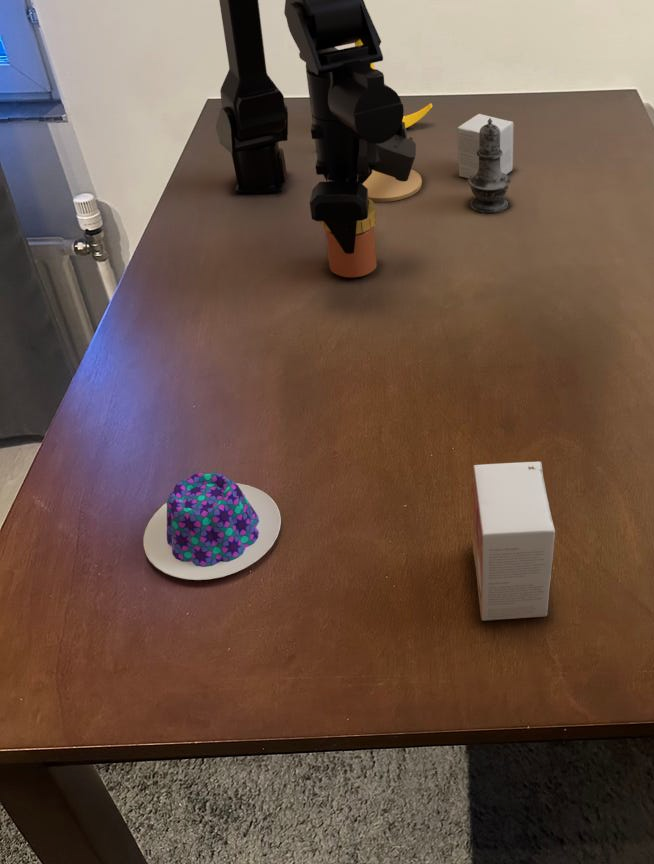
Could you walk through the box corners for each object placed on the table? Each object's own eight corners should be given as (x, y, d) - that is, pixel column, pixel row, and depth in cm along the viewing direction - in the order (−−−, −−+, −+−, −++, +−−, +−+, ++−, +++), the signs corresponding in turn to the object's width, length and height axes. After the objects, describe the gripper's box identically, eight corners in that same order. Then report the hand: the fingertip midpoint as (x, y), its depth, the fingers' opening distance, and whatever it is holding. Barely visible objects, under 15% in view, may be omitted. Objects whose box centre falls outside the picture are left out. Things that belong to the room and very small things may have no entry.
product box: (513, 171, 133) (515, 121, 128) (492, 186, 130) (492, 136, 125) (479, 161, 136) (479, 112, 131) (457, 176, 132) (456, 126, 127)
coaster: (344, 202, 126) (343, 198, 126) (348, 169, 134) (348, 165, 134) (421, 201, 126) (421, 197, 126) (422, 167, 134) (421, 163, 134)
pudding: (254, 594, 75) (243, 552, 71) (121, 575, 76) (103, 533, 73) (299, 496, 83) (291, 454, 80) (179, 481, 85) (165, 439, 81)
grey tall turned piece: (511, 196, 128) (513, 110, 119) (508, 215, 123) (510, 127, 115) (470, 194, 128) (470, 108, 120) (466, 213, 124) (465, 126, 115)
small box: (472, 551, 78) (471, 462, 71) (535, 547, 79) (541, 458, 71) (480, 623, 73) (480, 534, 65) (548, 618, 73) (555, 530, 66)
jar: (327, 277, 111) (321, 225, 105) (331, 253, 115) (324, 201, 110) (376, 277, 111) (371, 224, 106) (377, 252, 115) (373, 200, 110)
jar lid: (375, 235, 106) (373, 220, 105) (318, 235, 106) (316, 221, 105) (377, 208, 111) (376, 194, 110) (323, 208, 111) (321, 194, 109)
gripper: (408, 145, 93) (415, 278, 104) (411, 80, 106) (417, 203, 117) (300, 147, 93) (319, 280, 104) (317, 81, 106) (332, 205, 117)
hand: (351, 240), depth 110 cm, fingers closed on jar lid, 6 cm apart
